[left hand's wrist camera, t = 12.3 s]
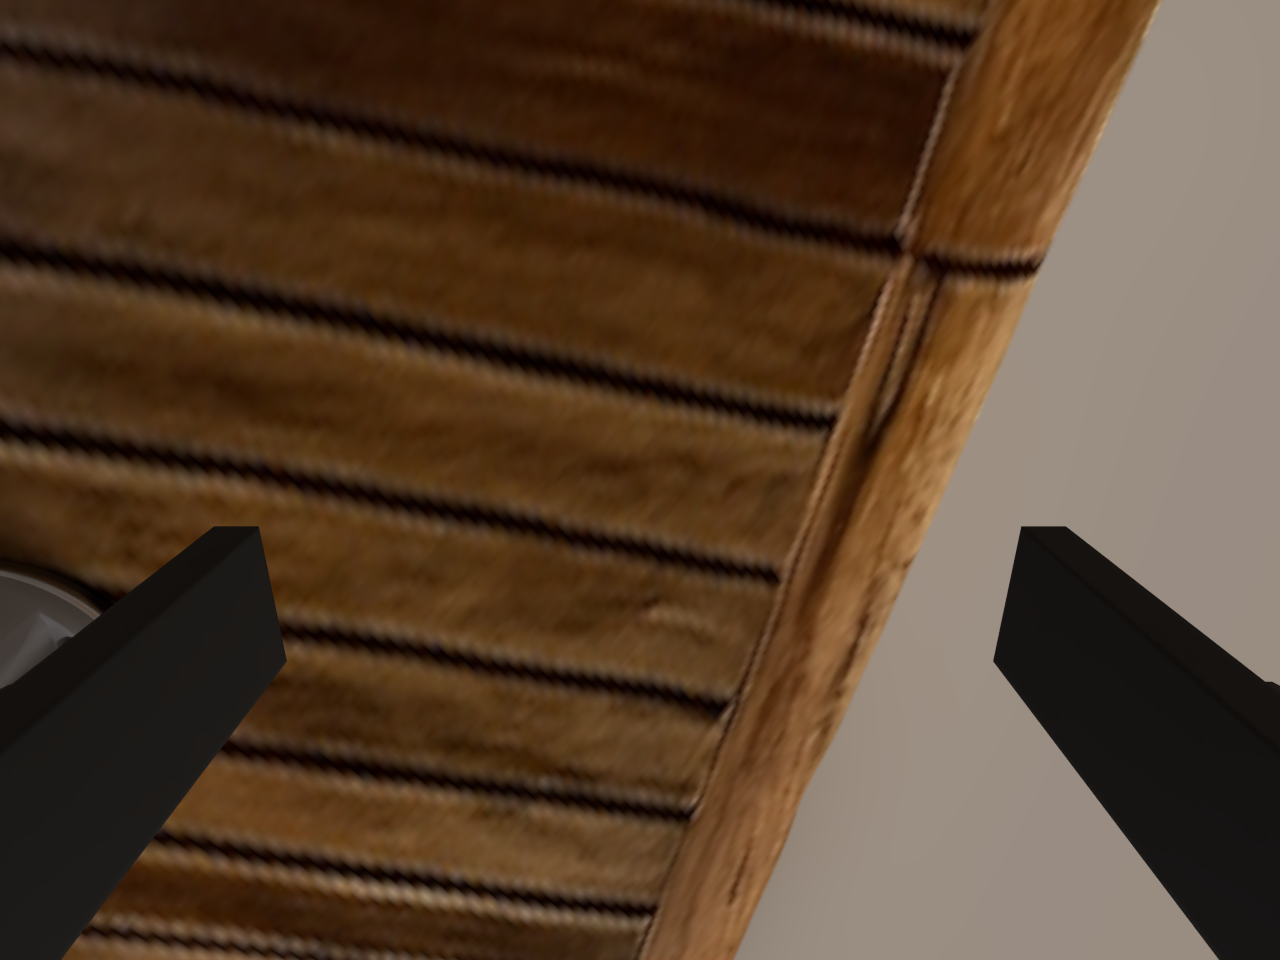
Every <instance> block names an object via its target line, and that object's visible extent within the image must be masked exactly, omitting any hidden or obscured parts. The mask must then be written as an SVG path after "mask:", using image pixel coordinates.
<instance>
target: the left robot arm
mask: <svg viewBox="0 0 1280 960" xmlns="http://www.w3.org/2000/svg"><path fill="white" fill-rule="evenodd" d="M993 661H994V663H995V664H996V666H997V667H998V668H999V670H1000V671H1001V672H1002V674H1003V675H1004V676H1005V677H1006V679H1007V680H1008V681H1009V683H1010V684H1011V685H1012V687H1013V688H1014V689H1015V691H1016V692H1017V693H1018V695H1019V696H1020V697H1021V699H1022V700H1023V701H1024V703H1025V704H1026V705H1027V706H1028V708H1029V709H1030V710H1031V712H1032V713H1033V714H1034V716H1035V717H1036V718H1037V720H1038V721H1039V722H1040V724H1041V725H1042V726H1043V728H1044V729H1045V730H1046V732H1047V733H1048V734H1049V736H1050V737H1051V738H1052V740H1053V741H1054V742H1055V744H1056V745H1057V746H1058V748H1059V749H1060V750H1061V751H1062V753H1063V754H1064V755H1065V757H1066V758H1067V759H1068V761H1069V762H1070V763H1071V765H1072V766H1073V767H1074V769H1075V770H1076V771H1077V773H1078V774H1079V775H1080V777H1081V778H1082V779H1083V780H1084V782H1085V783H1086V785H1087V786H1088V787H1089V788H1090V790H1091V791H1092V792H1093V794H1094V795H1095V796H1096V798H1097V799H1098V800H1099V802H1100V803H1101V804H1102V806H1103V807H1104V808H1105V810H1106V811H1107V812H1108V814H1109V815H1110V816H1111V818H1112V819H1113V820H1114V822H1115V823H1116V824H1117V825H1118V827H1119V828H1120V829H1121V831H1122V832H1123V833H1124V835H1125V836H1126V837H1127V839H1128V840H1129V841H1130V843H1131V844H1132V845H1133V847H1134V848H1135V849H1136V851H1137V852H1138V853H1139V855H1140V856H1141V857H1142V858H1143V860H1144V861H1145V862H1146V864H1147V865H1148V866H1149V868H1150V869H1151V870H1152V872H1153V873H1154V874H1155V876H1156V877H1157V878H1158V880H1159V881H1160V882H1161V884H1162V885H1163V886H1164V888H1165V889H1166V890H1167V892H1168V893H1169V894H1170V895H1171V897H1172V898H1173V899H1174V901H1175V902H1176V903H1177V905H1178V906H1179V907H1180V909H1181V910H1182V911H1183V913H1184V914H1185V915H1186V917H1187V918H1188V919H1189V921H1190V922H1191V923H1192V924H1193V926H1194V927H1195V929H1196V930H1197V931H1198V932H1199V934H1200V935H1201V936H1202V938H1203V939H1204V940H1205V942H1206V943H1207V944H1208V946H1209V947H1210V948H1211V950H1212V951H1213V952H1214V954H1215V955H1216V956H1217V958H1218V959H1219V960H1280V686H1279V685H1277V684H1275V683H1273V682H1265V681H1263V680H1262V679H1261V678H1260V677H1258V676H1257V675H1256V674H1255V673H1253V672H1252V671H1251V670H1249V669H1248V668H1247V667H1245V666H1244V665H1243V664H1242V663H1240V662H1239V661H1238V660H1237V659H1235V658H1234V657H1233V656H1231V655H1230V654H1229V653H1227V652H1226V651H1225V650H1224V649H1222V648H1221V647H1220V646H1219V645H1217V644H1216V643H1215V642H1213V641H1212V640H1211V639H1210V638H1208V637H1207V636H1206V635H1204V634H1203V633H1202V632H1201V631H1199V630H1198V629H1197V628H1195V627H1194V626H1193V625H1192V624H1190V623H1189V622H1188V621H1187V620H1185V619H1184V618H1183V617H1181V616H1180V615H1179V614H1178V613H1176V612H1175V611H1174V610H1172V609H1171V608H1170V607H1168V606H1167V605H1166V604H1165V603H1163V602H1162V601H1161V600H1160V599H1158V598H1157V597H1156V596H1154V595H1153V594H1152V593H1151V592H1149V591H1148V590H1147V589H1145V588H1144V587H1143V586H1142V585H1140V584H1139V583H1138V582H1136V581H1135V580H1134V579H1133V578H1131V577H1130V576H1129V575H1127V574H1126V573H1125V572H1124V571H1122V570H1121V569H1120V568H1119V567H1117V566H1116V565H1115V564H1113V563H1112V562H1111V561H1110V560H1108V559H1107V558H1106V557H1104V556H1103V555H1102V554H1101V553H1099V552H1098V551H1097V550H1095V549H1094V548H1093V547H1092V546H1090V545H1089V544H1088V543H1086V542H1085V541H1084V540H1083V539H1081V538H1080V537H1079V536H1077V535H1076V534H1075V533H1074V532H1072V531H1071V530H1070V529H1068V528H1067V527H1065V526H1061V527H1060V526H1053V527H1052V526H1051V527H1049V526H1031V527H1030V526H1022V527H1021V531H1020V535H1019V540H1018V545H1017V550H1016V555H1015V559H1014V564H1013V569H1012V574H1011V579H1010V583H1009V588H1008V593H1007V598H1006V602H1005V607H1004V612H1003V617H1002V622H1001V626H1000V631H999V636H998V641H997V646H996V650H995V655H994V660H993ZM286 662H287V660H286V655H285V650H284V646H283V641H282V636H281V631H280V626H279V622H278V617H277V612H276V607H275V602H274V598H273V593H272V588H271V583H270V579H269V574H268V569H267V564H266V559H265V555H264V550H263V545H262V540H261V535H260V531H259V526H214V527H213V528H212V529H210V530H209V531H208V532H206V533H205V534H204V535H203V536H201V537H200V538H199V539H197V540H196V541H195V542H194V543H192V544H191V545H190V546H188V547H187V548H186V549H185V550H183V551H182V552H181V553H179V554H178V555H177V556H176V557H174V558H173V559H172V560H170V561H169V562H168V563H167V564H165V565H164V566H163V567H161V568H160V569H159V570H158V571H156V572H155V573H154V574H153V575H151V576H150V577H149V578H147V579H146V580H145V581H144V582H142V583H141V584H140V585H138V586H137V587H136V588H135V589H133V590H132V591H131V592H129V593H128V594H127V595H126V596H124V597H123V598H122V599H120V600H119V601H118V602H117V603H115V604H114V605H113V606H111V607H110V606H109V605H108V604H107V603H105V602H104V601H103V600H101V599H100V598H98V597H97V596H95V595H94V594H93V593H91V592H89V591H88V590H86V589H84V588H83V587H81V586H79V585H77V584H75V583H73V582H71V581H69V580H67V579H65V578H63V577H61V576H58V575H56V574H53V573H51V572H48V571H45V570H42V569H39V568H36V567H32V566H28V565H25V564H21V563H15V562H9V561H2V560H0V960H61V959H62V958H63V956H64V955H65V954H66V952H67V951H68V950H69V948H70V947H71V946H72V944H73V943H74V942H75V940H76V939H77V938H78V936H79V935H80V934H81V932H82V931H83V930H84V929H85V927H86V926H87V925H88V923H89V922H90V921H91V919H92V918H93V917H94V915H95V914H96V913H97V911H98V910H99V909H100V907H101V906H102V905H103V903H104V902H105V901H106V899H107V898H108V897H109V896H110V894H111V893H112V892H113V890H114V889H115V888H116V886H117V885H118V884H119V882H120V881H121V880H122V878H123V877H124V876H125V874H126V873H127V872H128V870H129V869H130V868H131V866H132V865H133V864H134V862H135V861H136V860H137V859H138V857H139V856H140V855H141V853H142V852H143V851H144V849H145V848H146V847H147V845H148V844H149V843H150V841H151V840H152V839H153V837H154V836H155V835H156V833H157V832H158V831H159V829H160V828H161V827H162V825H163V824H164V823H165V822H166V820H167V819H168V818H169V816H170V815H171V814H172V812H173V811H174V810H175V808H176V807H177V806H178V804H179V803H180V802H181V800H182V799H183V798H184V796H185V795H186V794H187V792H188V791H189V790H190V788H191V787H192V786H193V785H194V783H195V782H196V781H197V779H198V778H199V777H200V775H201V774H202V773H203V771H204V770H205V769H206V767H207V766H208V765H209V763H210V762H211V761H212V759H213V758H214V757H215V755H216V754H217V753H218V751H219V750H220V749H221V748H222V746H223V745H224V744H225V742H226V741H227V740H228V738H229V737H230V736H231V734H232V733H233V732H234V730H235V729H236V728H237V726H238V725H239V724H240V722H241V721H242V720H243V718H244V717H245V716H246V714H247V713H248V712H249V711H250V709H251V708H252V707H253V705H254V704H255V703H256V701H257V700H258V699H259V697H260V696H261V695H262V693H263V692H264V691H265V689H266V688H267V687H268V685H269V684H270V683H271V681H272V680H273V679H274V678H275V676H276V675H277V674H278V672H279V671H280V670H281V668H282V667H283V666H284V664H285V663H286Z"/></svg>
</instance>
